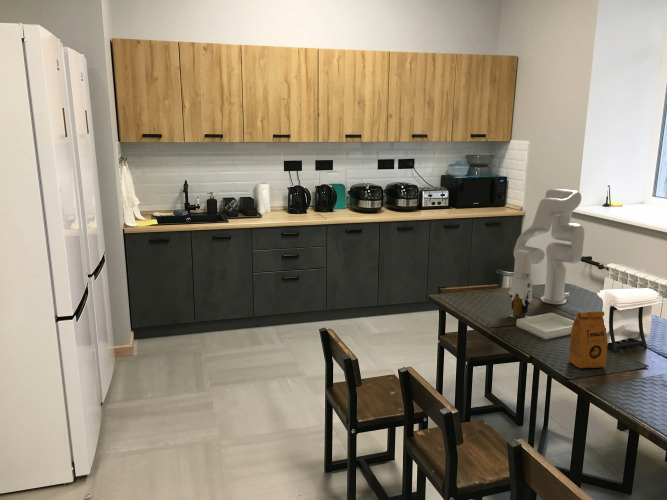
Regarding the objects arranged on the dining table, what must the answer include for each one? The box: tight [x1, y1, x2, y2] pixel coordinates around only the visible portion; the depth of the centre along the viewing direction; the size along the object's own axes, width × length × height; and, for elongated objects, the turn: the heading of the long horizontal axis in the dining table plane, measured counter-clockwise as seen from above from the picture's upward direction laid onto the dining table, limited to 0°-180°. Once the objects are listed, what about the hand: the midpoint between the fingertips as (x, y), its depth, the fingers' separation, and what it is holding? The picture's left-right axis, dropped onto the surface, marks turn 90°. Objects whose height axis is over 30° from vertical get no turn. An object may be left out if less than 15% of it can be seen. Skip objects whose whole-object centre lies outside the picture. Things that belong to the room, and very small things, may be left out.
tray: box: [515, 312, 574, 340], centre depth 260 cm, size 22×18×4 cm
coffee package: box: [568, 311, 609, 369], centre depth 219 cm, size 10×12×22 cm
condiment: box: [509, 294, 530, 319], centre depth 275 cm, size 7×8×12 cm
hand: (519, 310), depth 277 cm, fingers closed on condiment, 6 cm apart
